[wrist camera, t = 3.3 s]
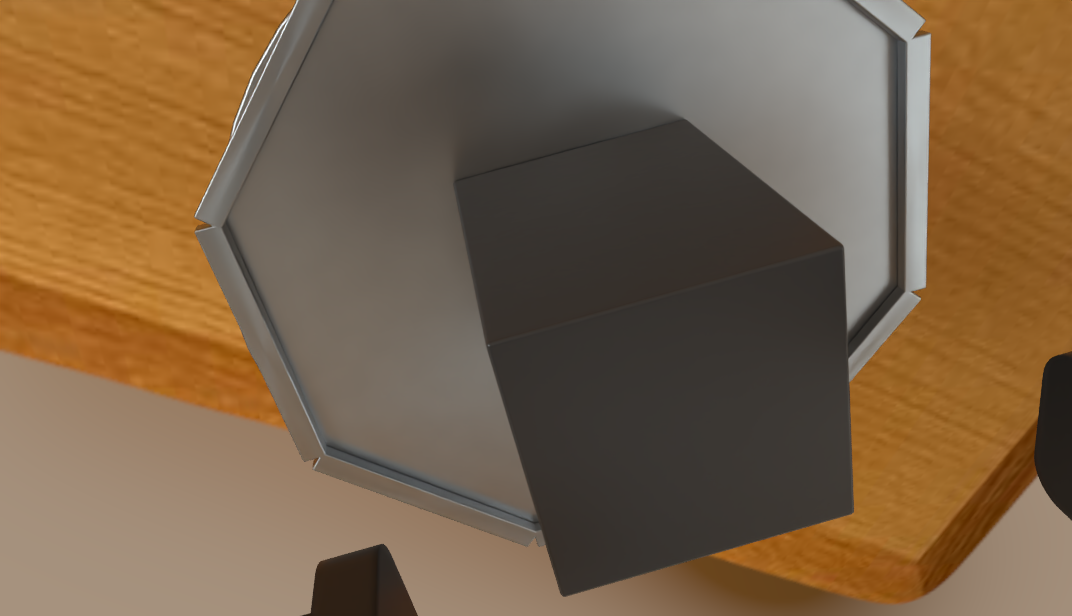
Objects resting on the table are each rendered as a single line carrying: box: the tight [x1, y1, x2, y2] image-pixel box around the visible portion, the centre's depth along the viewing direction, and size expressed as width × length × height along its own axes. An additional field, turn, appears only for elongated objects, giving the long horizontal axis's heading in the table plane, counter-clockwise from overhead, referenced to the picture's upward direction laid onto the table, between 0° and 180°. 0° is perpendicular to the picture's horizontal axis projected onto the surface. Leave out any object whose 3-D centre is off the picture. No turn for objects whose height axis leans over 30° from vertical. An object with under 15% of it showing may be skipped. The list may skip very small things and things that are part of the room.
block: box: [453, 119, 854, 597], centre depth 13 cm, size 4×4×6 cm
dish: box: [194, 0, 931, 547], centre depth 20 cm, size 14×14×11 cm
